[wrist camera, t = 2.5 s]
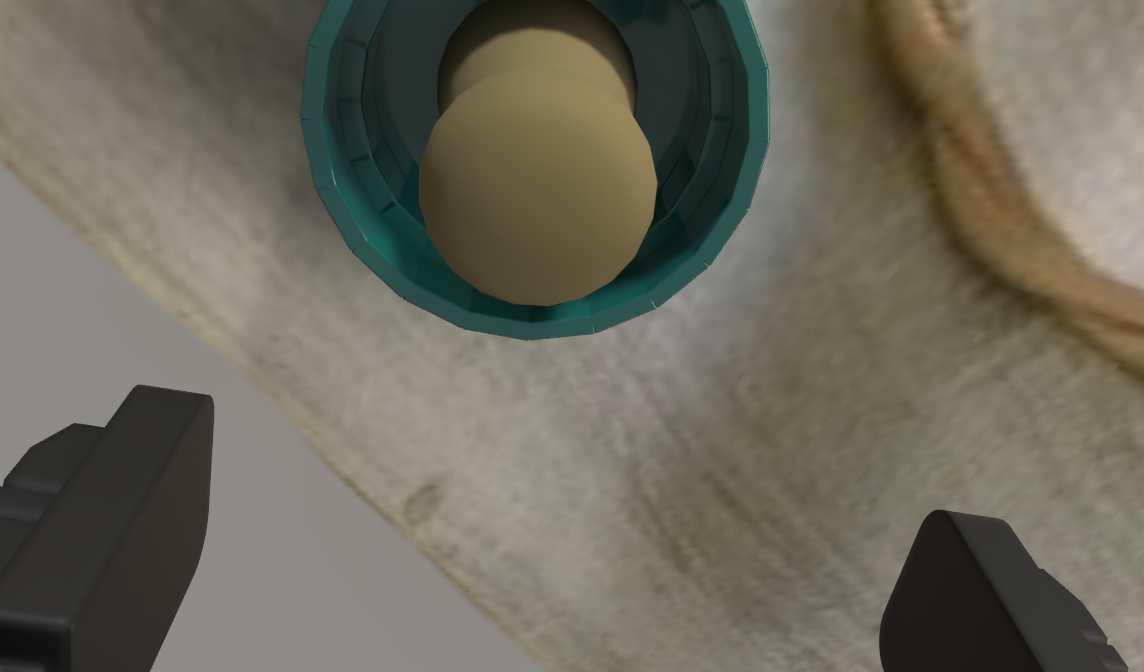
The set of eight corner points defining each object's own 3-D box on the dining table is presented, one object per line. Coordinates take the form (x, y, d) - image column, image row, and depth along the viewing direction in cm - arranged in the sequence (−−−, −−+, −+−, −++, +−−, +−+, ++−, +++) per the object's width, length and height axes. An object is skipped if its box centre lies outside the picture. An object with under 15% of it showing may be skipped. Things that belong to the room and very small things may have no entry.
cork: (457, -37, 29) (417, 32, 19) (661, 15, 30) (723, 106, 20) (420, 165, 32) (367, 316, 22) (609, 207, 33) (641, 371, 23)
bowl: (314, 236, 33) (280, 297, 29) (361, -178, 28) (329, -179, 24) (679, 304, 35) (700, 372, 30) (789, -77, 29) (832, -61, 25)
